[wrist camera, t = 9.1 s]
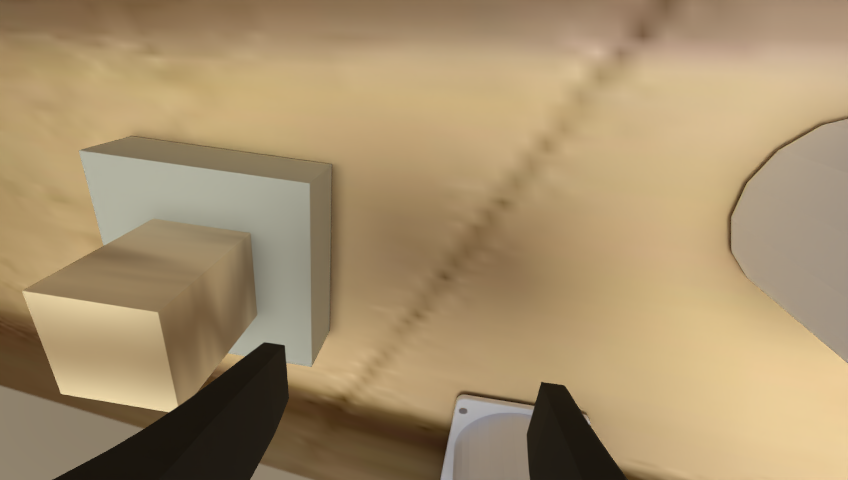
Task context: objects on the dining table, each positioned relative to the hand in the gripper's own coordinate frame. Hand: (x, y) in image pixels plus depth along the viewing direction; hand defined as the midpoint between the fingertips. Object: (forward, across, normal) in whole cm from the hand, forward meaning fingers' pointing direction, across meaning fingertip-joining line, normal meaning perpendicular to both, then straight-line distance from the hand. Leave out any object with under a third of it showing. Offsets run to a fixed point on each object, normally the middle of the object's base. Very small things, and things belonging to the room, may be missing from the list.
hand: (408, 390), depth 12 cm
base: (+10, +10, +2) cm, 15 cm away
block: (+7, +10, +2) cm, 13 cm away
